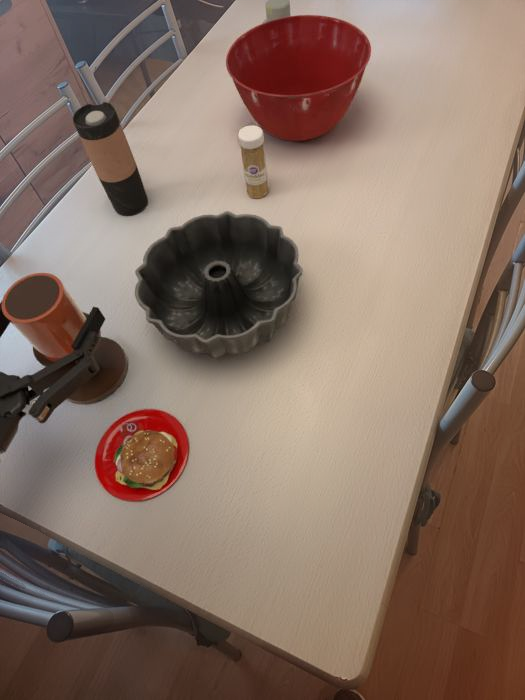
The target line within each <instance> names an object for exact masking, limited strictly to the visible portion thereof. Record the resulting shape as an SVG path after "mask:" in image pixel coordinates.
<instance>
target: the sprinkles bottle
mask: <svg viewBox="0 0 525 700" xmlns="http://www.w3.org/2000/svg"><path fill="white" fill-rule="evenodd" d="M263 130H264V129H263V128H262V127H261V126H259V125H258V126H257V125H252V124H251V125H246V126H243V127H242V128H241V129H240V130H239V131H238V133H237V137H238V144H239V146H240V151H241V152H240V153H241V159H242V166H243V175H244V180H245V184H246V194H247V195H248V196H249V197H250V198H252V199H262V198H264V197H266V196H267V195H268V194H269V191H270V188H269V183H268V172H267V171H268V170H267V160H266V152H265V146H264V144H265V137H264V131H263Z"/></svg>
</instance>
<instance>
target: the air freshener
mask: <svg viewBox="0 0 525 700" xmlns="http://www.w3.org/2000/svg"><path fill="white" fill-rule="evenodd" d="M265 16H266V17H265V18H266V19H264V20H263V22H262V23H261V24H263V23H266V22H269V21H272V20H275V19H279V18H283V17H289V16H291V2H290V0H266V2H265Z"/></svg>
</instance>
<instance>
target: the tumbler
mask: <svg viewBox="0 0 525 700" xmlns="http://www.w3.org/2000/svg"><path fill="white" fill-rule="evenodd" d="M1 301H2V311H3V314H4V315H5V317H6V318H7V319H8V320H9V321H10V324H12V325H13V327H15V329H16V330H17V331H18V332H19V333H20V334H21V335H22V336H23V337H24V338H25V339H26V340H27V342H28V343H29V344H30V345H31V347H32V348H33V347H34V348H35V349H36V350H37V351H38V352H39V353H40V354H41V355H42V356H43V357H44V358H45V359H47V360H49V361H52V362H56V361H58V360H59V359H61V358H63V357H65V356H67V355H68V354H70V353H72V352H74V350H73V348H72V347H71V345H72V344H73V342H74V340H75V338H76V337H77V335H78V333H79V331H80V330H81V328H82V326H83V324H84V322H85V321H86V319H87V318H86V316H85V315H84V314H83V312H84V311H82V309H81V308H80V306H79V305H78V303H77V302H76V301H75V299H74V298H73V296H72V295H71V293H70V292H69V290H68V289H67V288H66V286H65V285H64V283H63V282H62V280H61V279H60V278H59V277H58V276H56V275H54V274H52V273H49V272H35V273H31V274H28V275H26V276H23V277H21V278H19V279H18V280H16V281H15V282H14V283H13V284H11V285H10V287H8V289H7V290H6V291H5V293H4V295H3V298H2V300H1Z"/></svg>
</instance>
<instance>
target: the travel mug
mask: <svg viewBox="0 0 525 700" xmlns="http://www.w3.org/2000/svg"><path fill="white" fill-rule="evenodd" d="M119 118H120V117H119V116H118V114H117V111H116V108H115V107H114V105H112V103H110V102H107V101H103V102H102V103H100V104H92V103H87V104H84V105H82V106H81V107H79V108H78V109H77V110H76V111H75V112H74V113H73V116H72V122H73V125H74V127H75V130H76V132H77V134H78V136H79V138H80V140H81V142H82V145H83V147H84V150H85V151H86V154H87V156H88V158H89V160H90V163H91V165H92V168H93V169H94V171H95V174H96V176H97V178H98V180H99V182H100V184H101V186H102V188H103V190H104V192H105V194H106V195H107V197H108V199H109V201H110V203H111V205H112V207H113V209H114V211H115V212H116V213H117V214H118V215H120V216H123V217H131V216H135V215H137V214H140V213H141V212H143V211H144V210H145V209H146V207H147V206H148V203H149V199H148V195H147V191H146V189H145V186H144V183H143V179H142V176H141V174H140V171H139V167H138V165H137V162H136V160H135V156H134V154H133V152H132V150H131V147H130V144H129V142H128V139H127V136H126V134H125V132H124V128H123V126H122V123H121V121H120V119H119Z"/></svg>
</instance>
